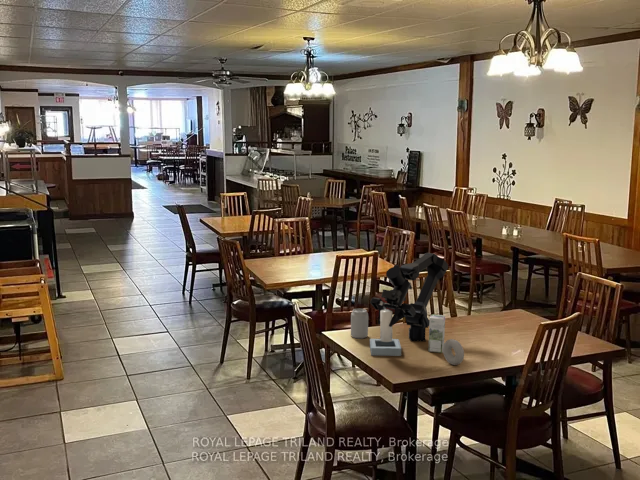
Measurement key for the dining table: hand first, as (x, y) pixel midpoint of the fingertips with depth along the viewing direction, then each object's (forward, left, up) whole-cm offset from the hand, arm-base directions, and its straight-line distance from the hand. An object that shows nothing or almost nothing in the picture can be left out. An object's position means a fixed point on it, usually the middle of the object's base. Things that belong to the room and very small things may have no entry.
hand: (384, 325), depth 251 cm
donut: (-26, +9, -13) cm, 30 cm away
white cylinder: (-1, -1, -7) cm, 7 cm away
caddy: (-1, -6, -13) cm, 14 cm away
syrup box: (-22, -7, -13) cm, 26 cm away
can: (+9, -24, -13) cm, 29 cm away
